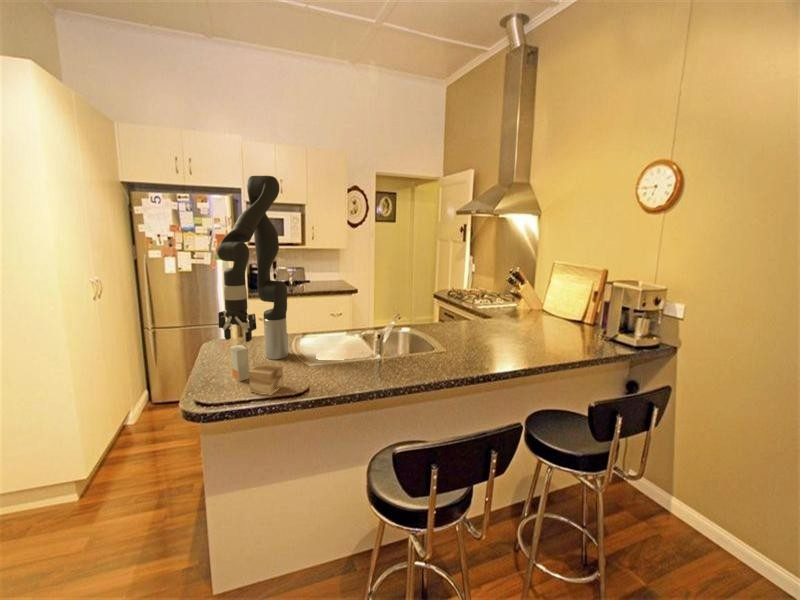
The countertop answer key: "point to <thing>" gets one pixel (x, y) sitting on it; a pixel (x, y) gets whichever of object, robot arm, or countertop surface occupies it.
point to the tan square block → (265, 374)
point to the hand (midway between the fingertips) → (238, 340)
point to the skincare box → (239, 362)
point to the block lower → (266, 387)
